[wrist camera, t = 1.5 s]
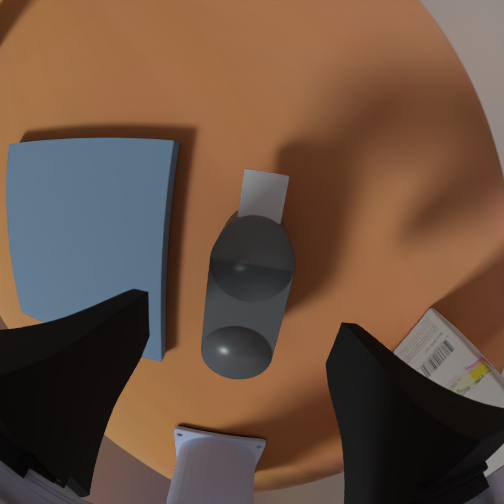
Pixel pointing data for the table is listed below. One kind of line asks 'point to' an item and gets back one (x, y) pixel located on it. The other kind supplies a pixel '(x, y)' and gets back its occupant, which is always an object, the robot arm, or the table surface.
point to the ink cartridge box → (453, 365)
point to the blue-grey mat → (91, 225)
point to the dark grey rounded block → (248, 281)
